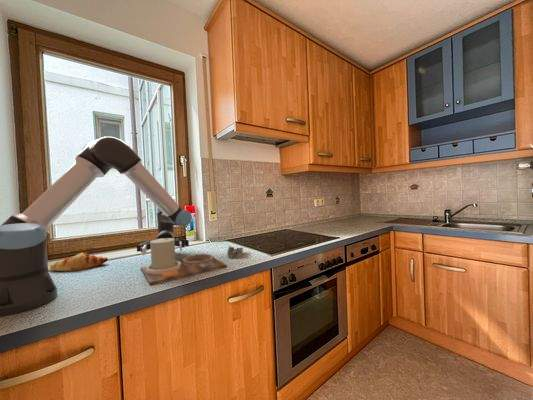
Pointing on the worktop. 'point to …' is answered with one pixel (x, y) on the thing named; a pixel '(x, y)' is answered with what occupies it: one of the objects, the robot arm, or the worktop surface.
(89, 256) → the croissant
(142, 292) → the worktop surface
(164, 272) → the ring
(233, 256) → the egg carton
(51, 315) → the worktop surface
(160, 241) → the can
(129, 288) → the worktop surface
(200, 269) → the walnut board
